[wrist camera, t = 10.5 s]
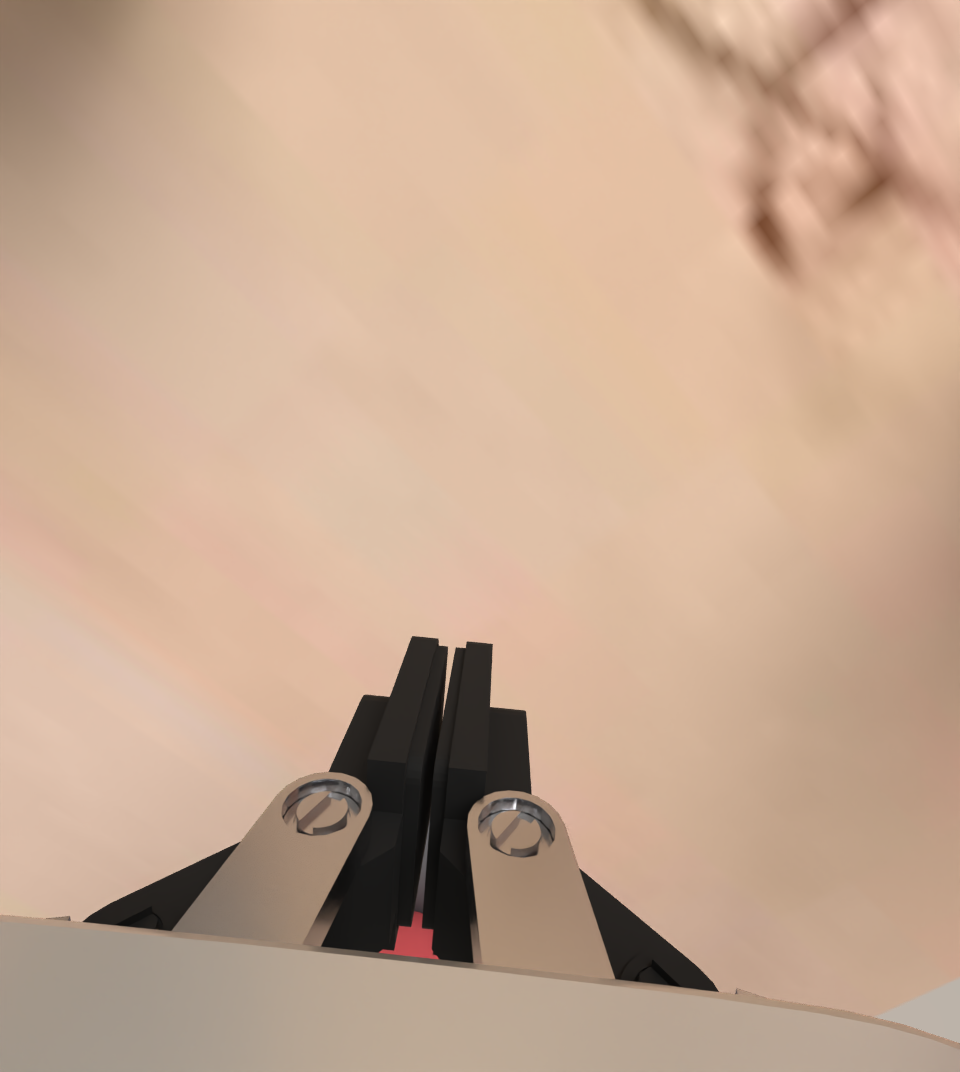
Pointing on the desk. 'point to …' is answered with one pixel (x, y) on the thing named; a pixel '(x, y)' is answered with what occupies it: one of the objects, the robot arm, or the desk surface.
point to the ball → (414, 940)
